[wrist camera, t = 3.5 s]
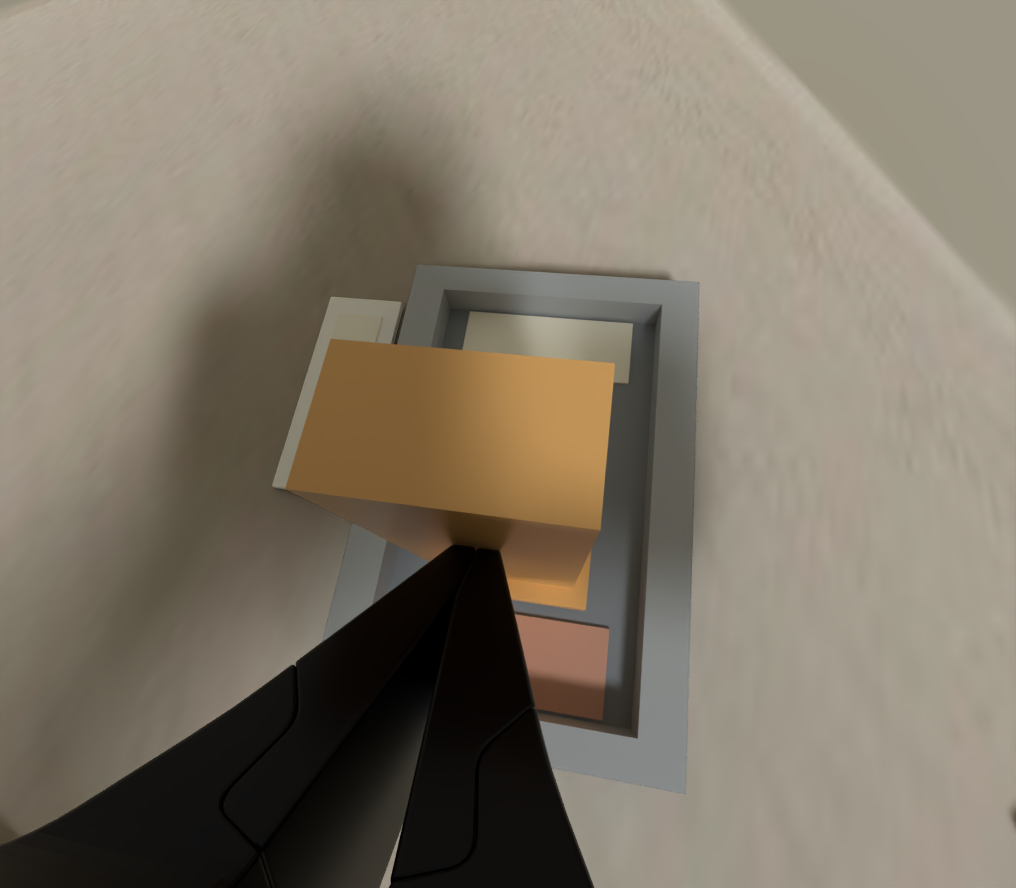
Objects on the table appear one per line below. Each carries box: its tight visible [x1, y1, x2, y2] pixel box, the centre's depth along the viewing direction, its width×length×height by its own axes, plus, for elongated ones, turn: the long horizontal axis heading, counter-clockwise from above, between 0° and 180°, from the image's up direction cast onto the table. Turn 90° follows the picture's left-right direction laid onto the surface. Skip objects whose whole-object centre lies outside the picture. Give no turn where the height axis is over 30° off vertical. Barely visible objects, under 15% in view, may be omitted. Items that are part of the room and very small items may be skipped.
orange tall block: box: [285, 339, 615, 611], centre depth 11 cm, size 3×4×10 cm
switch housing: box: [272, 264, 700, 794], centre depth 16 cm, size 15×14×2 cm
